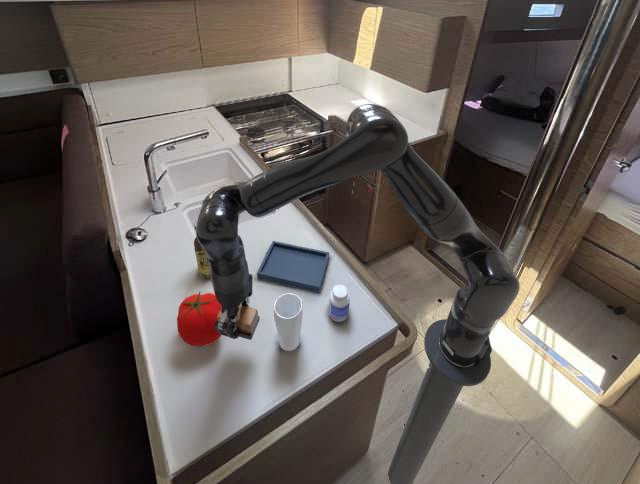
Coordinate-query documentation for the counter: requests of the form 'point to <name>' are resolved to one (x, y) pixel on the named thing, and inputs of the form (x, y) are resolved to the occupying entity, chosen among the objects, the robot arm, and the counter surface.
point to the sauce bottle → (201, 258)
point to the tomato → (198, 319)
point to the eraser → (246, 321)
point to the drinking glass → (288, 320)
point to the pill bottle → (339, 303)
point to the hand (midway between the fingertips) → (239, 324)
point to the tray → (294, 266)
